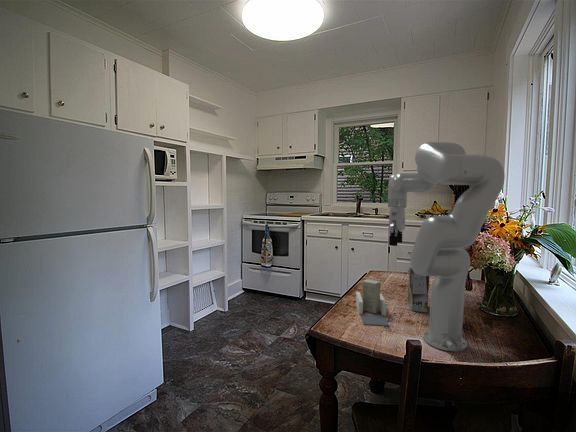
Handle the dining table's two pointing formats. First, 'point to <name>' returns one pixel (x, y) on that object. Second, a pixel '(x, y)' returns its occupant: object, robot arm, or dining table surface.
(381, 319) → the mat
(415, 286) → the coffee box
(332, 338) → the dining table surface
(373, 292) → the skincare box
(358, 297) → the rack
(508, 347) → the dining table surface
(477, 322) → the dining table surface
